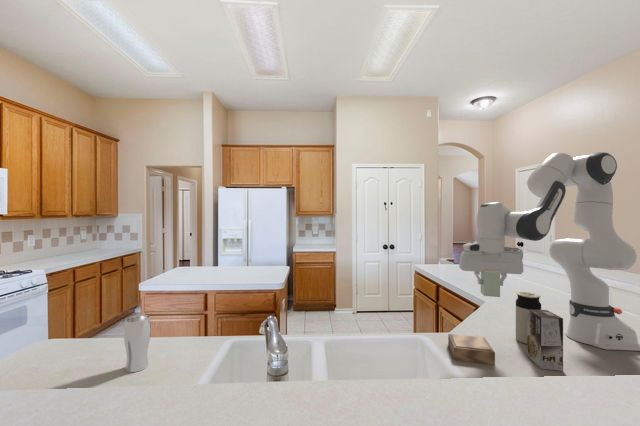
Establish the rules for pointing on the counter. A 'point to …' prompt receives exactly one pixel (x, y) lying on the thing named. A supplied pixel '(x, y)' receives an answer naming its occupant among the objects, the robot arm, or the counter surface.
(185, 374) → the counter surface
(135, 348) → the beer glass
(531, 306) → the travel mug
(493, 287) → the tea tin
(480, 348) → the square wooden tray
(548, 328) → the coffee box
